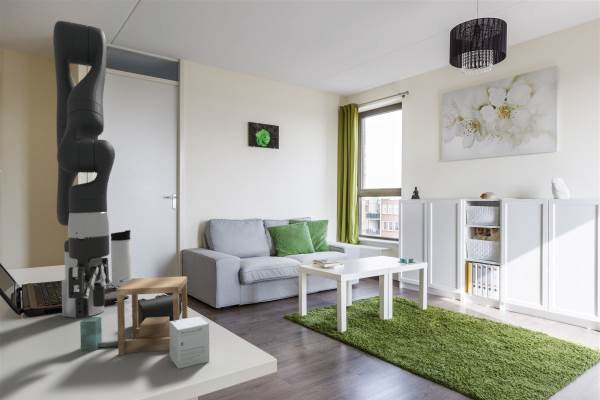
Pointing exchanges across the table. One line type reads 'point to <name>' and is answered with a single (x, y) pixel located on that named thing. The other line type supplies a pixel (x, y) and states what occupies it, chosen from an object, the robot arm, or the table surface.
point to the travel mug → (121, 257)
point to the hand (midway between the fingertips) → (91, 311)
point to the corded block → (93, 341)
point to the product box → (189, 341)
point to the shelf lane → (135, 288)
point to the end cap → (156, 307)
